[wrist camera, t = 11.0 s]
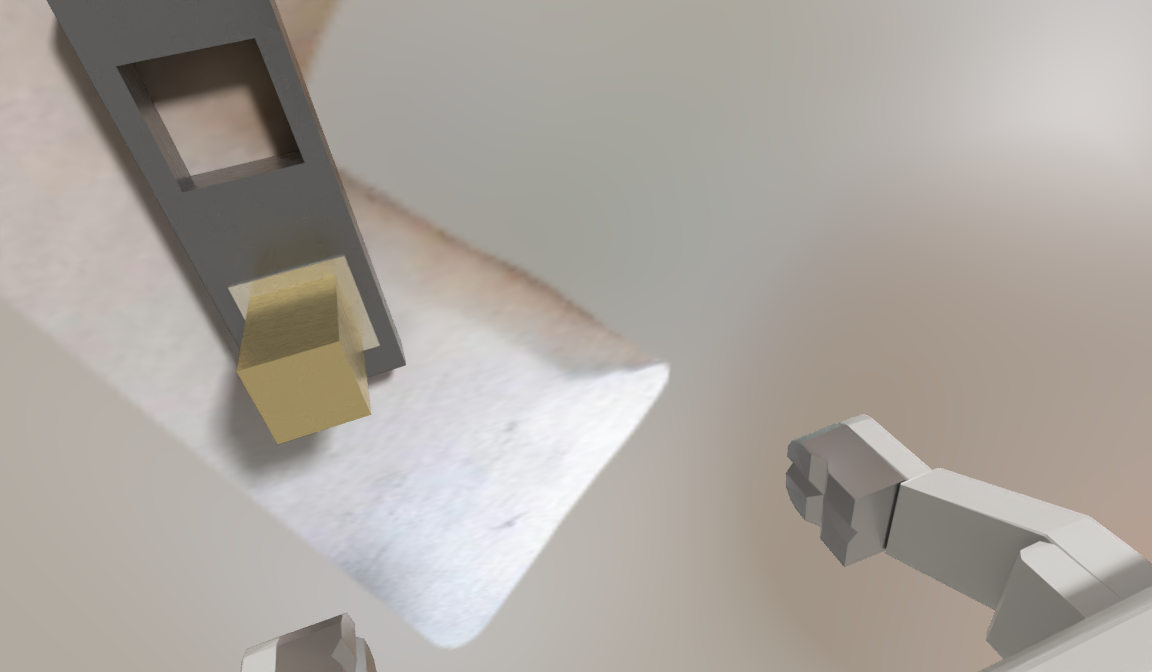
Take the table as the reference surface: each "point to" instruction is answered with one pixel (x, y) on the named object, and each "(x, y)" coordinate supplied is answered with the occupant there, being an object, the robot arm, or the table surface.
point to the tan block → (304, 360)
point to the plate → (243, 192)
